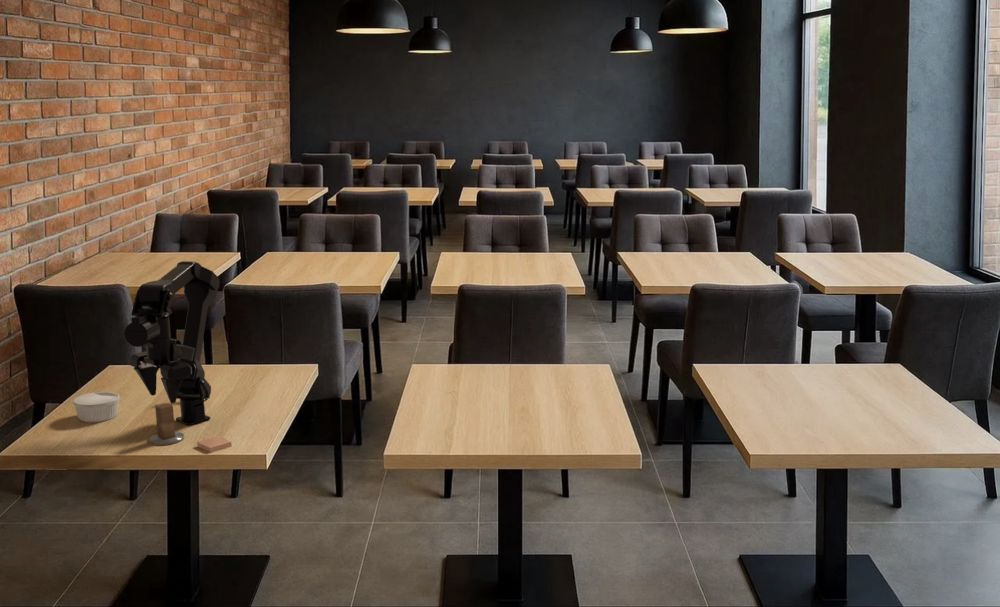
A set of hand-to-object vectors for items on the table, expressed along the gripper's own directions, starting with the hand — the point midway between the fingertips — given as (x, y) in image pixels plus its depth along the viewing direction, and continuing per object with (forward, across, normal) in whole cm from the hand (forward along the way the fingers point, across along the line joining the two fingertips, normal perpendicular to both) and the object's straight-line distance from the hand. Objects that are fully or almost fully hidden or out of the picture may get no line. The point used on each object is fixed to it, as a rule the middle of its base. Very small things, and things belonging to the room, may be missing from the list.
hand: (163, 398), depth 250 cm
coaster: (+10, 0, 0) cm, 10 cm away
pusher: (+10, 0, 0) cm, 10 cm away
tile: (+10, -10, -5) cm, 15 cm away
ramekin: (+11, +29, +3) cm, 31 cm away
